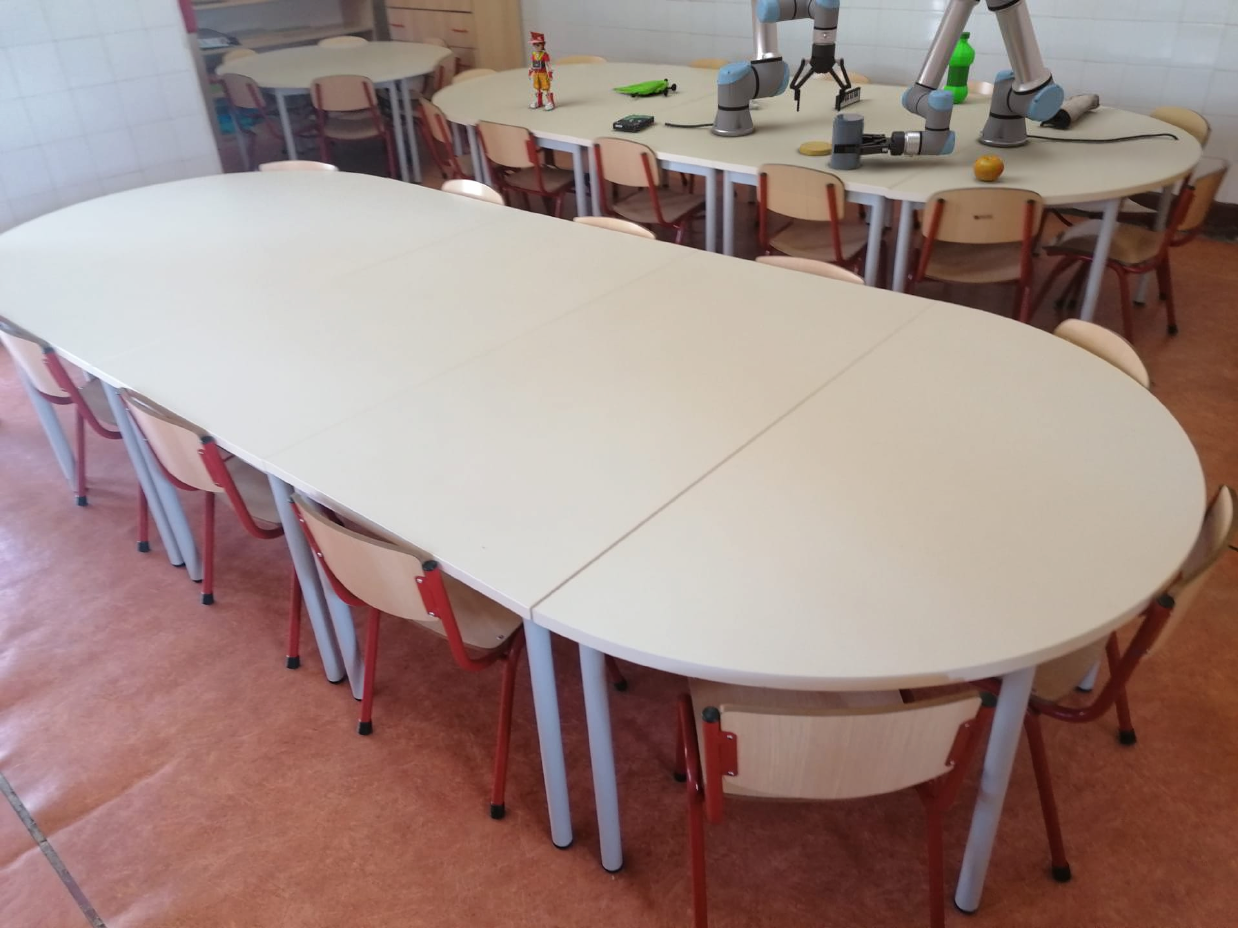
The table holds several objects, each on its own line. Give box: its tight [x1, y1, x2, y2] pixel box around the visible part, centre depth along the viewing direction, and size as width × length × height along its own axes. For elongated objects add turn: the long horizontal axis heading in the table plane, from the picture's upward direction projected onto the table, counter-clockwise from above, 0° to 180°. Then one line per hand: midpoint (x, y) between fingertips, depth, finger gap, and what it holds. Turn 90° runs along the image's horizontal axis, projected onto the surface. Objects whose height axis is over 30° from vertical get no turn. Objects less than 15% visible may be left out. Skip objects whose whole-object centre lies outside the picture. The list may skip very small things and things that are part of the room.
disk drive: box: [612, 114, 655, 133], centre depth 348 cm, size 10×3×15 cm
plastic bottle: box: [942, 31, 976, 104], centre depth 348 cm, size 10×10×25 cm
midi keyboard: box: [834, 86, 862, 110], centre depth 359 cm, size 18×1×5 cm, turn 138°
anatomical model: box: [749, 99, 760, 109], centre depth 364 cm, size 15×10×10 cm
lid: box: [799, 141, 832, 156], centre depth 310 cm, size 11×11×2 cm
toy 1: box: [527, 31, 556, 111], centre depth 374 cm, size 12×9×30 cm
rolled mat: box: [1039, 93, 1101, 130], centre depth 325 cm, size 30×9×10 cm
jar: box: [829, 112, 866, 170], centre depth 292 cm, size 10×10×15 cm
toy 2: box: [612, 78, 677, 99], centre depth 396 cm, size 28×5×30 cm
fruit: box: [973, 154, 1005, 182], centre depth 274 cm, size 8×8×8 cm
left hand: (818, 110), depth 304 cm, fingers open, 13 cm apart
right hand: (833, 144), depth 293 cm, fingers closed on jar, 10 cm apart
